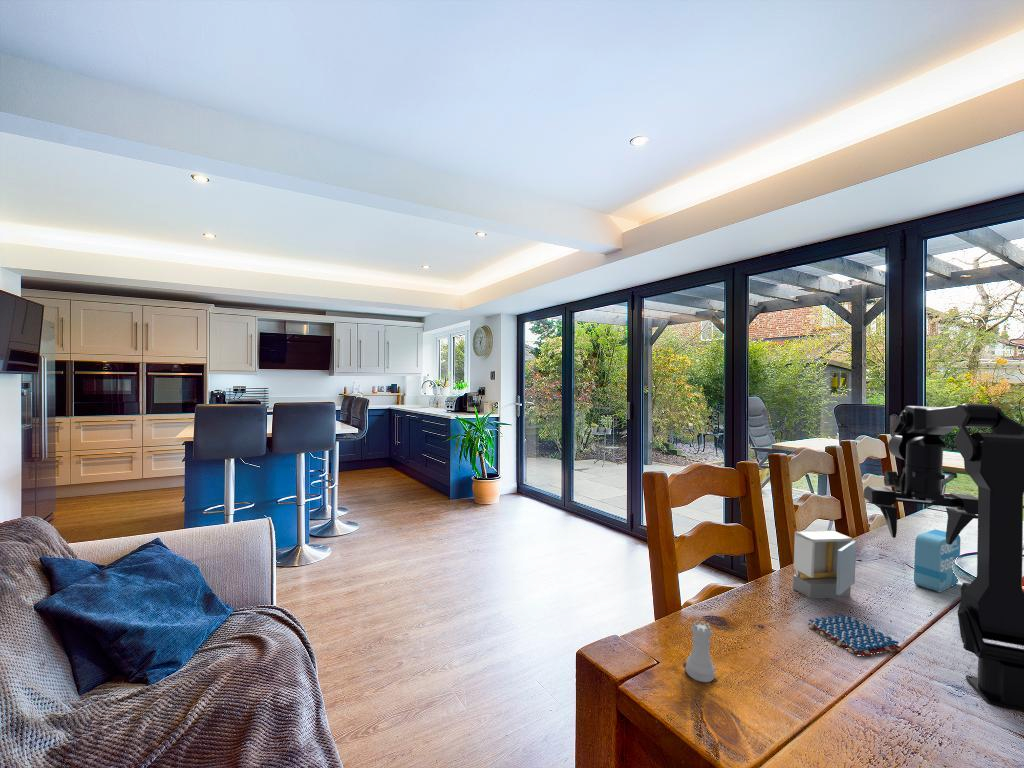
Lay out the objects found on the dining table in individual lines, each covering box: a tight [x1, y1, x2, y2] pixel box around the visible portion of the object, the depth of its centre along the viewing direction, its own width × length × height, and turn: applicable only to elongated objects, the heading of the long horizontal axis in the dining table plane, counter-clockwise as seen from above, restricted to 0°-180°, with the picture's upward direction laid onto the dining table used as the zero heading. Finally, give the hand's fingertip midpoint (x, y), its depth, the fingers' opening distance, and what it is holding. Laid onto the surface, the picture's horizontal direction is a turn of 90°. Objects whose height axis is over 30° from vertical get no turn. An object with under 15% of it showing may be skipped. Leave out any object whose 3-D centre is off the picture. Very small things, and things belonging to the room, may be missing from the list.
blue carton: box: [913, 528, 961, 593], centre depth 109 cm, size 12×4×12 cm, turn 119°
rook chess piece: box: [685, 620, 716, 683], centre depth 73 cm, size 4×4×8 cm
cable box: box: [792, 530, 853, 600], centre depth 103 cm, size 5×10×13 cm, turn 99°
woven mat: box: [807, 613, 902, 657], centre depth 85 cm, size 10×11×2 cm
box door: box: [836, 540, 857, 595], centre depth 98 cm, size 1×10×9 cm, turn 129°
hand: (920, 540), depth 96 cm, fingers open, 9 cm apart
